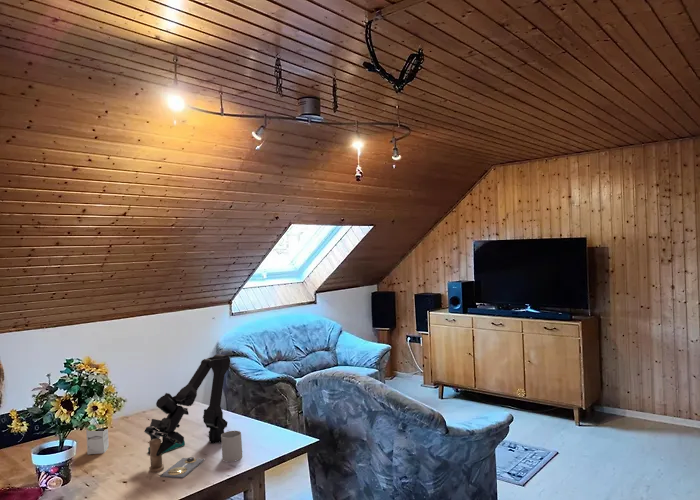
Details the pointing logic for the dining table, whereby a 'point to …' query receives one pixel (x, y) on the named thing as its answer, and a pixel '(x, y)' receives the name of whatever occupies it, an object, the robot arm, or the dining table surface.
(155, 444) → the walnut post
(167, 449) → the digital multimeter
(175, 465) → the gauge plate
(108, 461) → the dining table surface
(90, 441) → the supplement box
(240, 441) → the cup
